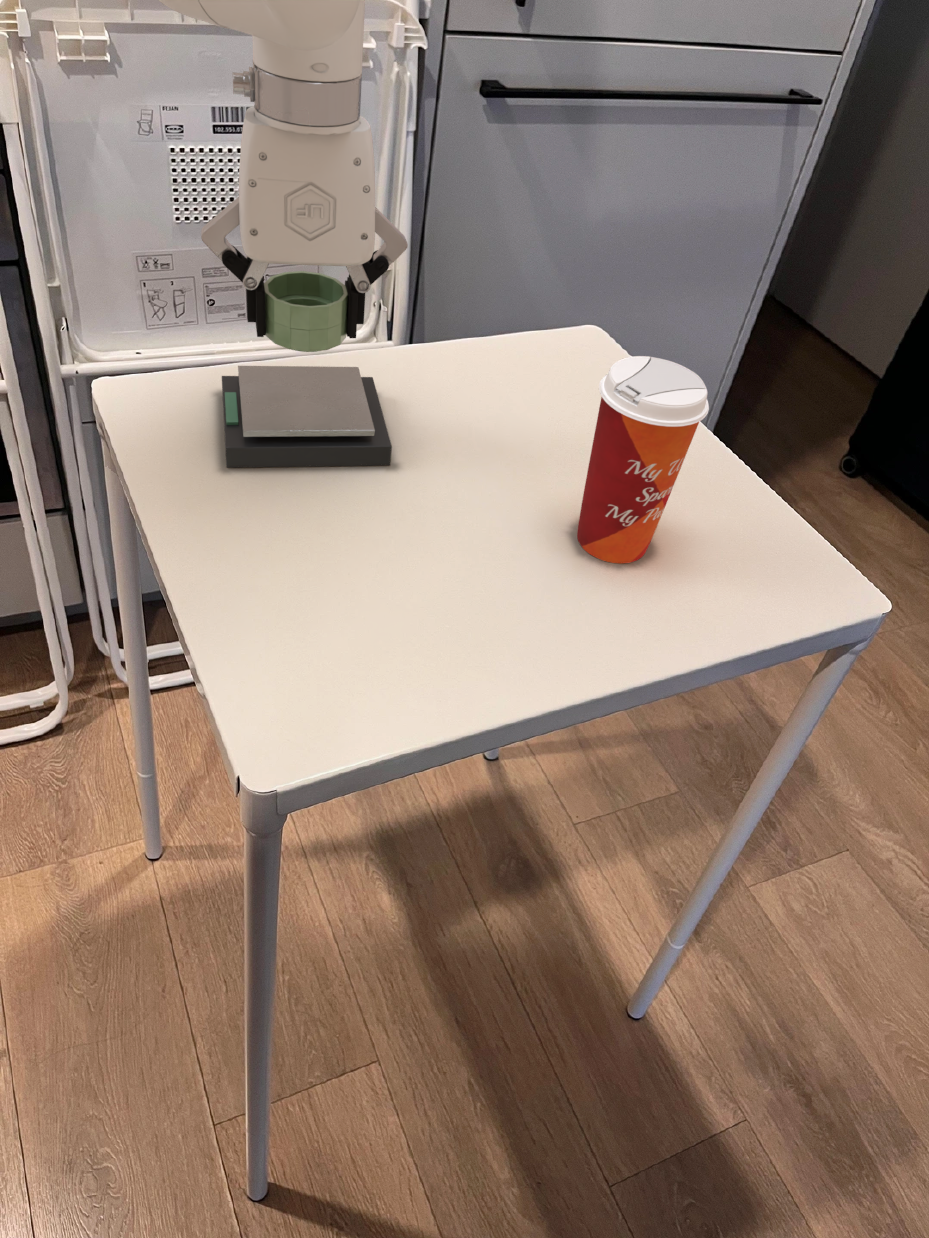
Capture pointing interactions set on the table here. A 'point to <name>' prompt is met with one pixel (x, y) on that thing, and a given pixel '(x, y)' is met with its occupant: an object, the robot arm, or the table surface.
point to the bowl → (306, 311)
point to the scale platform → (303, 401)
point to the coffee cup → (637, 453)
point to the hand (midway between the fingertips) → (305, 328)
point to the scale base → (302, 439)
